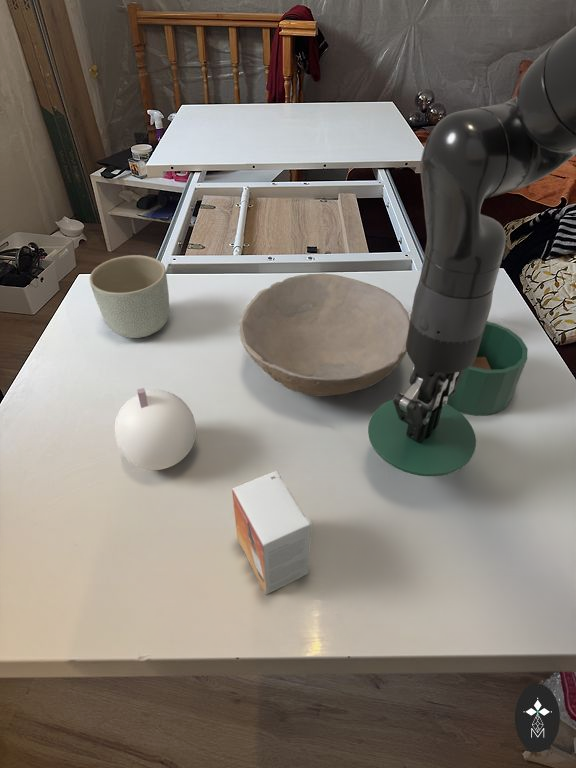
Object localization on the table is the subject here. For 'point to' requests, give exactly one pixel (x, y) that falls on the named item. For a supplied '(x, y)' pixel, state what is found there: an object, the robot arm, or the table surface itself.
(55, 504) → the table surface
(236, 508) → the small box
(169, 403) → the ornament
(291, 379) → the bowl
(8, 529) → the table surface
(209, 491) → the table surface
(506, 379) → the tin
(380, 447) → the tin lid
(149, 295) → the planter
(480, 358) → the block
